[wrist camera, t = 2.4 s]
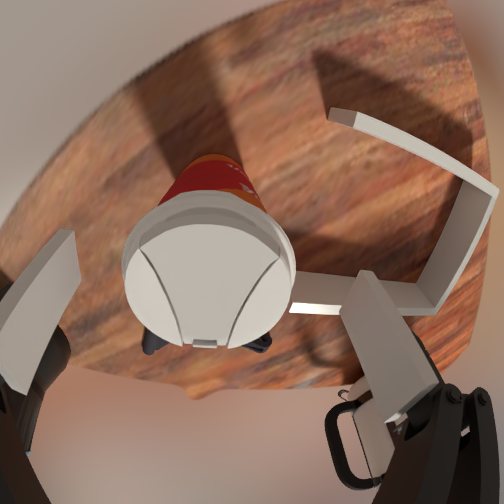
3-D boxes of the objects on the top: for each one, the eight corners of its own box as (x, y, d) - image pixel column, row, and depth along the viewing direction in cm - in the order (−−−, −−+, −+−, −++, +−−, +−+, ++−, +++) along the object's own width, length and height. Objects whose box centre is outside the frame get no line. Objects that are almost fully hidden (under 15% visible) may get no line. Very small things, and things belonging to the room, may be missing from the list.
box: (279, 278, 28) (289, 312, 24) (330, 106, 20) (357, 111, 15) (417, 290, 32) (435, 315, 28) (471, 173, 23) (499, 189, 19)
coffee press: (405, 333, 37) (480, 491, 12) (410, 370, 45) (460, 489, 20) (310, 381, 41) (351, 547, 15) (335, 407, 49) (369, 530, 23)
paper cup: (252, 229, 25) (281, 357, 13) (168, 223, 24) (128, 350, 12) (266, 144, 21) (326, 215, 9) (171, 136, 20) (100, 198, 8)
